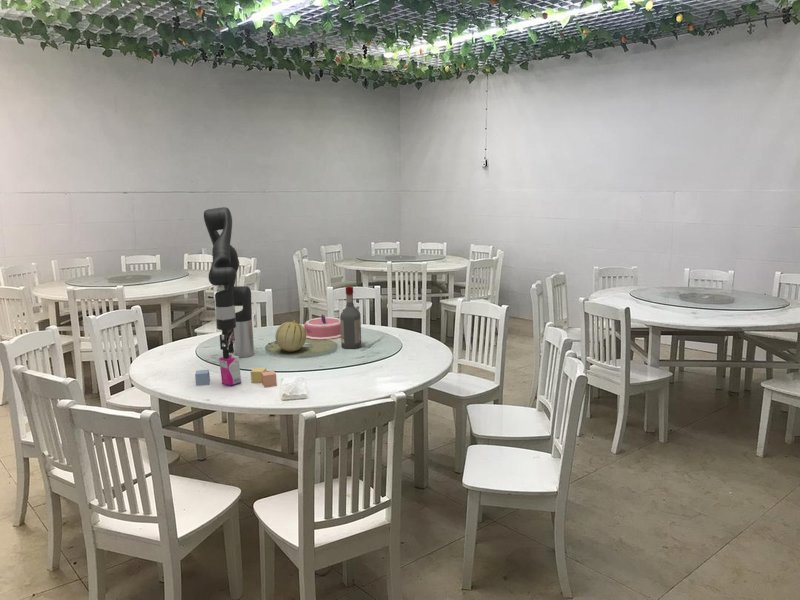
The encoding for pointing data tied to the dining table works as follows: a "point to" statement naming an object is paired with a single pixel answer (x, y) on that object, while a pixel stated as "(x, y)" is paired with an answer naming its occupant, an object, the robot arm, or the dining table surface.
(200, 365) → the dining table surface
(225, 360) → the supplement box
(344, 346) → the liquor
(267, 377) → the terracotta block
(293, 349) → the cantaloupe
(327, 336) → the cake
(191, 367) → the dining table surface
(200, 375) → the slate block
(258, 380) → the ochre block
